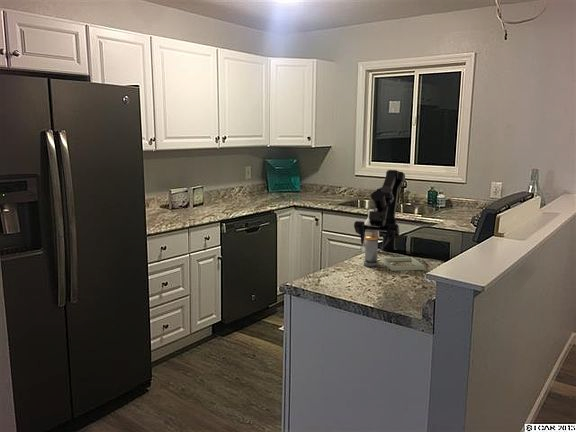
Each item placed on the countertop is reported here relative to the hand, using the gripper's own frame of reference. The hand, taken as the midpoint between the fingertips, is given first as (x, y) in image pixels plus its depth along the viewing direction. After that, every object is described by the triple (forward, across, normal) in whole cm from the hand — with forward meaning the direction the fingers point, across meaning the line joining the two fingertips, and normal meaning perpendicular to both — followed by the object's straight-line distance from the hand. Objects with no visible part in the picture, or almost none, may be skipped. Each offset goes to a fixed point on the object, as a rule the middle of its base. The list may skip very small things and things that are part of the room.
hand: (372, 245), depth 193 cm
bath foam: (-11, -7, +24) cm, 27 cm away
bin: (+4, +12, +9) cm, 15 cm away
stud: (+8, 0, +5) cm, 9 cm away
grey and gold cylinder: (+7, 0, +5) cm, 9 cm away
